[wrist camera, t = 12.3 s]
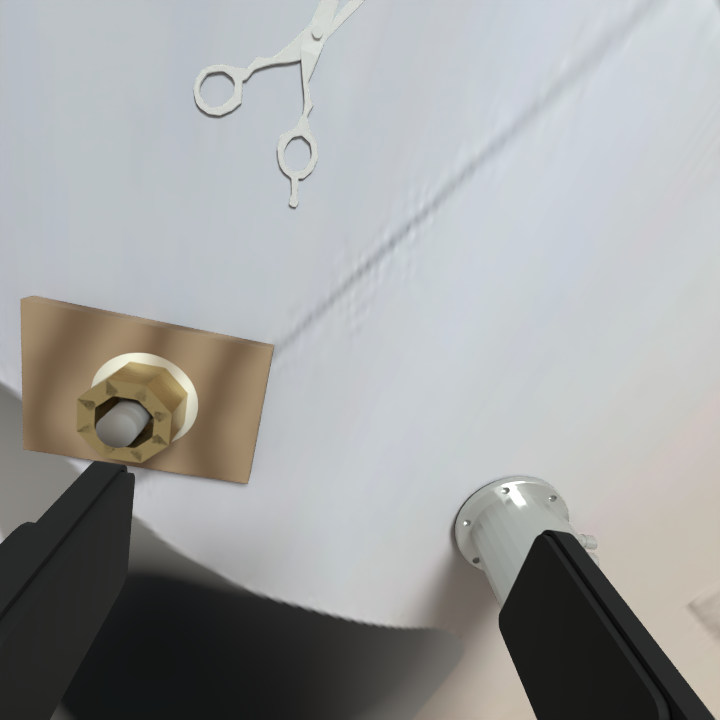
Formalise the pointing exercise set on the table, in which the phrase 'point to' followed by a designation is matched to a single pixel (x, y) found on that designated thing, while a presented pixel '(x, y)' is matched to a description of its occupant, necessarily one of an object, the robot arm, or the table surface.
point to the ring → (152, 392)
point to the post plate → (114, 333)
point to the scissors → (300, 48)
